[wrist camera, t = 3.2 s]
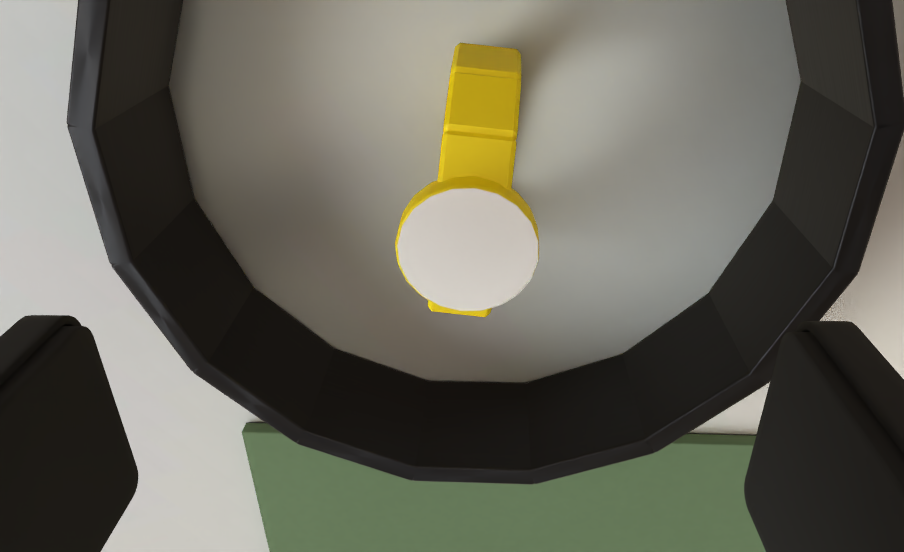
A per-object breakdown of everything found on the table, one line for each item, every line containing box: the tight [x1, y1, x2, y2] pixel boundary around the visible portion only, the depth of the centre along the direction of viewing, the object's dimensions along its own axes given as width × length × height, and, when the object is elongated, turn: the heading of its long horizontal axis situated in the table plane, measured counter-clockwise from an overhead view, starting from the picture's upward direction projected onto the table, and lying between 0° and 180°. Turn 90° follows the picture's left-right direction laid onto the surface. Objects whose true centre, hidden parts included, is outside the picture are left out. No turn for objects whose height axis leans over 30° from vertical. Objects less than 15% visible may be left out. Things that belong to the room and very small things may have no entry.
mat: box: [242, 423, 766, 552], centre depth 25 cm, size 20×10×1 cm, turn 91°
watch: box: [395, 43, 539, 317], centre depth 15 cm, size 6×3×6 cm, turn 175°
